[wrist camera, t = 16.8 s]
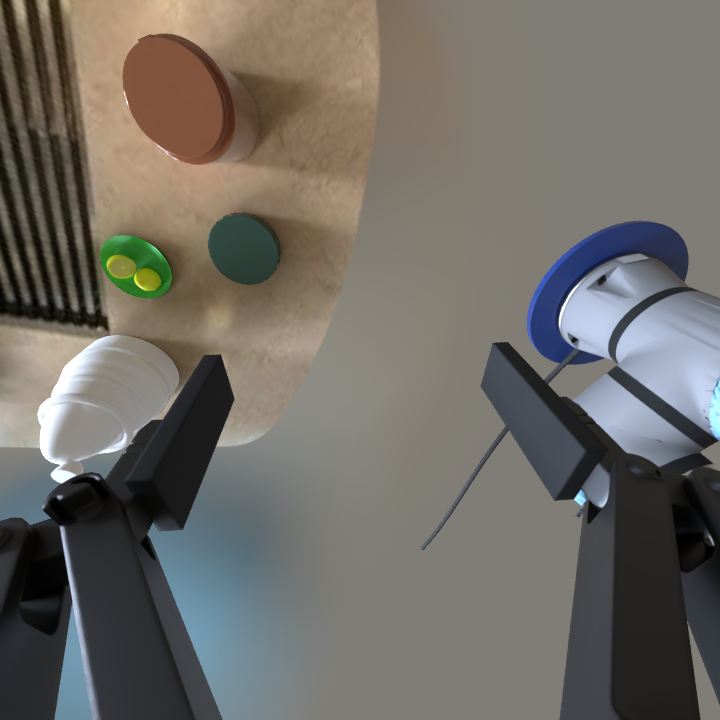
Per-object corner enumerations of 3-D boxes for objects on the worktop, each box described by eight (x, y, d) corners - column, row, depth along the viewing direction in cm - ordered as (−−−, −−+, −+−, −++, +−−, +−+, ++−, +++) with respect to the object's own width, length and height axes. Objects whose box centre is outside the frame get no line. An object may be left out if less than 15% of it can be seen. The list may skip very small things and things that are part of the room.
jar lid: (223, 198, 35) (218, 200, 34) (290, 235, 38) (289, 238, 36) (204, 261, 39) (199, 265, 37) (266, 290, 42) (264, 295, 40)
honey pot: (195, 369, 48) (134, 466, 33) (154, 413, 52) (84, 516, 37) (109, 318, 42) (-11, 406, 27) (71, 372, 46) (-51, 474, 32)
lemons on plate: (102, 282, 39) (88, 290, 37) (104, 222, 36) (88, 226, 33) (169, 305, 42) (160, 314, 40) (177, 251, 38) (168, 257, 36)
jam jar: (272, 150, 33) (248, 148, 23) (208, 171, 34) (159, 178, 24) (239, 56, 29) (193, 6, 19) (166, 82, 29) (86, 47, 20)
